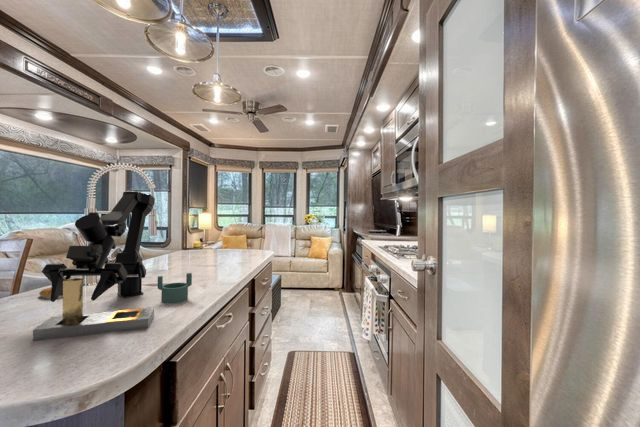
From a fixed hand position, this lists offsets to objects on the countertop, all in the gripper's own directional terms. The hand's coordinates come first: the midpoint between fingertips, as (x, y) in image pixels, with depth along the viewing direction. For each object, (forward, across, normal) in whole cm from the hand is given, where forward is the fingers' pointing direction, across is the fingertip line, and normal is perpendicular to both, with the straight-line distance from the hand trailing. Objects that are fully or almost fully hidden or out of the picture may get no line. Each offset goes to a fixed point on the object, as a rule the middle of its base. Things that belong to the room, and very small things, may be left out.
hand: (72, 300), depth 76 cm
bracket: (-12, +18, +23) cm, 31 cm away
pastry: (-18, -25, +29) cm, 42 cm away
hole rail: (+4, +6, +6) cm, 10 cm away
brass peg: (+5, 0, +6) cm, 8 cm away
